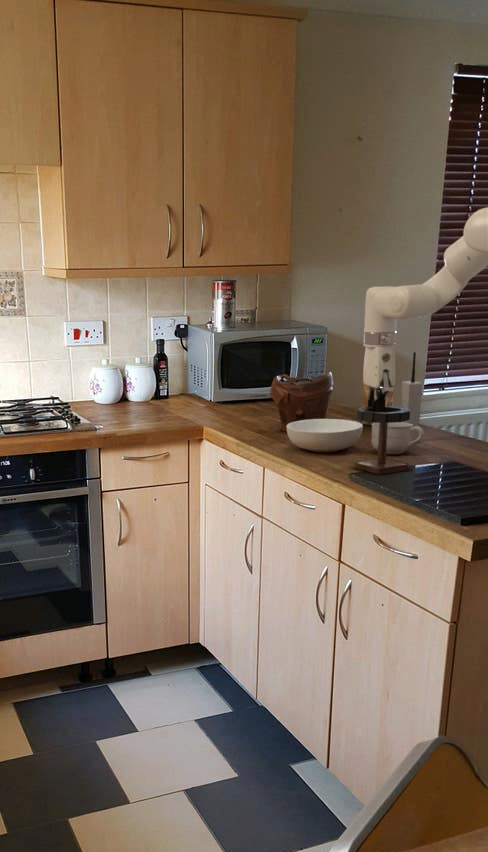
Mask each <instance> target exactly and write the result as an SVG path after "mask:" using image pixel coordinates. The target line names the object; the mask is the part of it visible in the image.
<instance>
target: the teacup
mask: <svg viewBox="0 0 488 852" xmlns="http://www.w3.org/2000/svg"><path fill="white" fill-rule="evenodd" d="M415 430H418V431H419V436H418V438H417V439H416V440H414V441H411V439H412V434H413V432H414V431H415ZM424 435H425V434H424V430H423V428H422V427H420V426H419V427H418V426H416V427H413V424H409V423H401V422H395V423H388V428H387V447H386V455H400V454H404V453H405V452H406V451H408V449H411V448H412V447H413V446H414V445H416V444H417V443H419V442H420V441H421V440H423V438H424ZM378 441H379V423H373V424H372V425H371V446H372V448H373V449H374V450H376V451H377V453H378Z"/></svg>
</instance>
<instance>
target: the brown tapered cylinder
mask: <svg viewBox="0 0 488 852" xmlns="http://www.w3.org/2000/svg"><path fill="white" fill-rule="evenodd" d="M333 385H334V380H333V374H332V372H331V371H328V372H327V373H325V374H323V375H318V376H315V377H301V378H300V377H292V376H290V375H288V374H286V373H282V375H276V376H275V377H273V380H272V383H271V386H270V389H269V395H270V397H271V399H272V400H273V401H274V402H275V403H276V404H277V411H278V415H279V419H280V423H281V424H280V425H281V431H283V432H286V433H287V428H286V426H287V425H288V424H289V423H292V422H296V421H301V420H310V419H327V416H328V411H329V405H330V400H331V396H332V393H333V390H334V389H333Z"/></svg>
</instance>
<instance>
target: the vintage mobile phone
mask: <svg viewBox="0 0 488 852" xmlns="http://www.w3.org/2000/svg"><path fill="white" fill-rule="evenodd" d="M416 354H417V353H416V351H415V352H413V356H412V368H411V369H412V370H411V378H410V379H411V380H406V381H405V380H403V381H402V382H401V407H404V408H408V409H410V410H411V412H410V419H409V420H408V421H404V422H400V423H409V424H413V427H416V426H418V427H420V421H421V420H420V419H421V418H420V417H421V403H422V389H423V384H422V382H420V381H417V380H416V379H415V378H416V376H415V375H416V357H417V355H416ZM418 437H419V431H418V430H415V431H414V432H413V434H412V439H411V441H414V440H416V439H417V438H418Z"/></svg>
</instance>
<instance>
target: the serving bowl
mask: <svg viewBox="0 0 488 852" xmlns="http://www.w3.org/2000/svg"><path fill="white" fill-rule="evenodd" d="M363 425H364V424H362V422H359V421H355V420H349V419H340V418H326V419H310V420H301V421H296V422H292V423H289V424H288V425H287V426H286V428H287V432H286V433H287V436H288V439H289V441H291V443H292V444H293V445H294V446H296V447H298V448H300V449H304V450H307V451H310V452H313V453H334V452H339V451H340V450H344V449H348V448H350V447H352V446H353V445H355V444H356V443H357V442H358V441H359V439H360V438H361V435H362V433H363V428H364V426H363Z"/></svg>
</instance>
